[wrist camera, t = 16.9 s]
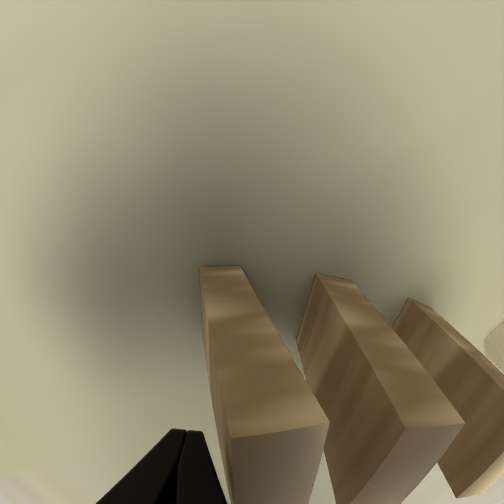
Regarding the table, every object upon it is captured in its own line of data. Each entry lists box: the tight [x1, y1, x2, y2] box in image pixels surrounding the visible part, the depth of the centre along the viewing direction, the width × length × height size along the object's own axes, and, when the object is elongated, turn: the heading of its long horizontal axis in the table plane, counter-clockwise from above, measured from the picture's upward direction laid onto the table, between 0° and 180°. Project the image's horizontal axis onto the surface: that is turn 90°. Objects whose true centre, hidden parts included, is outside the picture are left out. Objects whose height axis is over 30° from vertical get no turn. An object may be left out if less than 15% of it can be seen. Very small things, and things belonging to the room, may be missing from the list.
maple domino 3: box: [392, 298, 504, 498], centre depth 12 cm, size 2×4×11 cm, turn 157°
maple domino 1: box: [200, 266, 330, 504], centre depth 11 cm, size 2×4×11 cm, turn 179°
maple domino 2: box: [296, 273, 465, 504], centre depth 12 cm, size 2×4×11 cm, turn 168°
